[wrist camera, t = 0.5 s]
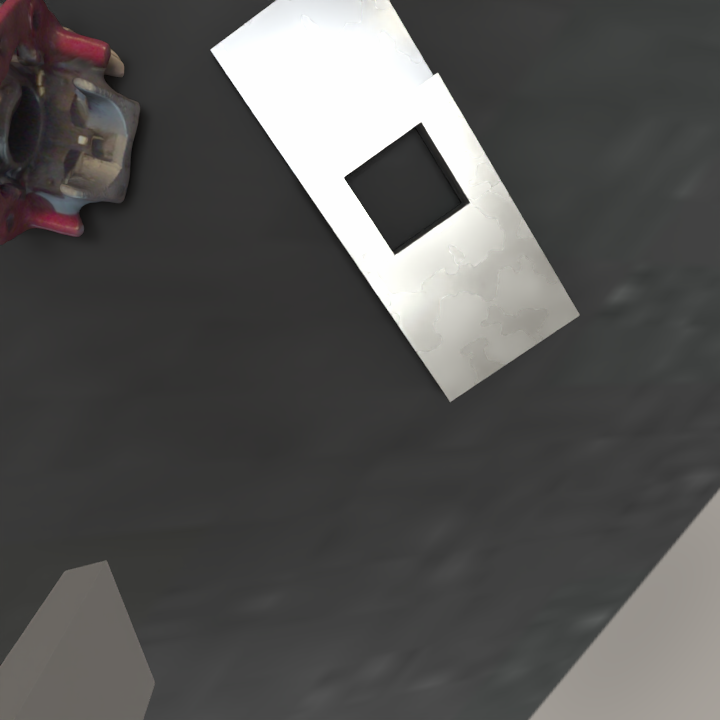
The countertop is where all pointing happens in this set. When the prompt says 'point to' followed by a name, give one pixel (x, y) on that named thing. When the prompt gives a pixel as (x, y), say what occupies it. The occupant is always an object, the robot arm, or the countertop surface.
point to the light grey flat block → (447, 249)
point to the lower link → (323, 73)
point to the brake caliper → (58, 123)
